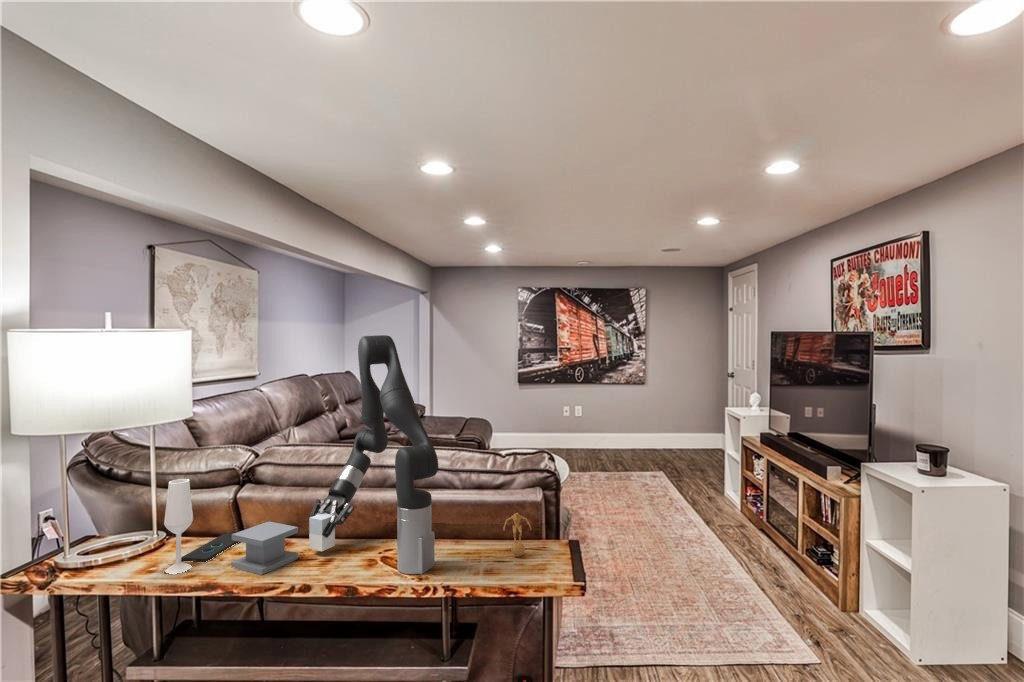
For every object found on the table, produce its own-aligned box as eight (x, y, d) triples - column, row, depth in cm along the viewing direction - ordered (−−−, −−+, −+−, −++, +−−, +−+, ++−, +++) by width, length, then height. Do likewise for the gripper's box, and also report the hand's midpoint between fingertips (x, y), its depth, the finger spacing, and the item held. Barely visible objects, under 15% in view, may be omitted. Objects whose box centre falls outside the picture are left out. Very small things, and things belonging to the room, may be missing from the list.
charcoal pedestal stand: (298, 558, 149) (298, 527, 149) (262, 575, 138) (262, 541, 138) (268, 551, 154) (268, 521, 154) (231, 567, 143) (231, 534, 143)
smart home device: (179, 557, 147) (224, 532, 167) (179, 563, 147) (224, 538, 167) (207, 558, 146) (249, 533, 166) (207, 564, 146) (249, 538, 166)
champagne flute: (157, 574, 138) (158, 484, 139) (174, 564, 145) (175, 478, 145) (182, 574, 138) (183, 484, 139) (198, 564, 145) (198, 478, 145)
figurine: (504, 559, 148) (504, 517, 148) (502, 551, 154) (502, 510, 154) (533, 558, 149) (533, 516, 149) (530, 550, 155) (529, 509, 155)
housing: (334, 545, 154) (334, 515, 154) (322, 551, 149) (322, 520, 150) (322, 543, 156) (322, 512, 156) (309, 548, 152) (309, 517, 152)
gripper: (323, 475, 163) (292, 525, 152) (358, 479, 157) (329, 532, 146) (335, 488, 168) (306, 537, 156) (370, 492, 162) (342, 544, 150)
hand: (317, 534), depth 151 cm, fingers closed on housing, 5 cm apart
